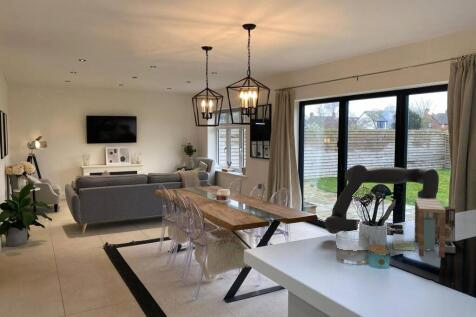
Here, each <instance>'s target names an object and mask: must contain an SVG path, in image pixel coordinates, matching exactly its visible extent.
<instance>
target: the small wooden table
mask: <svg viewBox="0 0 476 317" xmlns="http://www.w3.org/2000/svg"><path fill="white" fill-rule="evenodd" d="M424 212H433V218H434V219H435V244H438V257H439V258H446V257H445V256H446V253H445V208H444V207H443V204H442V203H441V202H440V200H439V199H436V200H435V199H418V198H415V199H414V242H417V244H418V251H417V252H418V256H422V257H424V256H425V250H424ZM438 213H439V241H438Z"/></svg>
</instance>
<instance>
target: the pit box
mask: <svg viewBox="0 0 476 317" xmlns="http://www.w3.org/2000/svg"><path fill="white" fill-rule="evenodd" d="M453 242H454V241H445V254H453V255H454V254H456V245H455V244H454V243H453Z"/></svg>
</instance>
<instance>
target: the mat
mask: <svg viewBox="0 0 476 317" xmlns="http://www.w3.org/2000/svg"><path fill="white" fill-rule="evenodd" d="M392 244H393V246H392V247H393V250H398V251H399V250H401V251H408V250H411V252H416V248H415V245H414V242H410V241H395V240H393V241H392Z"/></svg>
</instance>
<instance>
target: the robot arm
mask: <svg viewBox="0 0 476 317" xmlns="http://www.w3.org/2000/svg"><path fill="white" fill-rule="evenodd" d="M344 178H345V180H346V181H347V182H348V183H347V184H346V186H345V187H344V189H343V190H342V192H341V193H340V194H339V196H338V197H337V199H336V201H335V203H334V205H333V207H332V210H331V212H332V213H331V216H328V217H327V218H325V221H324V226H325V228H326V231H327V232H328V233H330V234H338V233H339V231H343V232H345V231H351V230H357V229H358V224H359V222H360V219H361V218H360V219H353V218H352V219H351V218H346V217H345V216H346V214H347V212H348V210H349V208H350V206H351V204H352V202H353V200H354V198H352V197H353V196H352V195H353V194H354V193H355V192H356V191H357V190H358V191H359V189H360V187H361V186H362V185H363V184H367V183H370V184H383V185H385V184H386V185H398V184H404V183H417V184H421V185H422V189H421V190H418V192H417V199H435V200H437V194H438V192H439V182H440V179H439V178H440V176H439V173H438V171H437V170H436V169H433V168H427V167H416V168H404V167H395V166H393V167H391V166H387V167H386V166H383V167H378V168H372V169H367V168H366V166H365V165H362V164H355V165H353V166H351V167H349V168H348V169H347V170H346V171H345V174H344ZM358 191H357V192H358ZM357 192H356V193H357ZM424 217H427V218H431V212H424ZM385 223H386V224H387V235H386V236H391V237H392V236H394V235H404V226H403V224H394V223H392V222H385Z"/></svg>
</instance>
